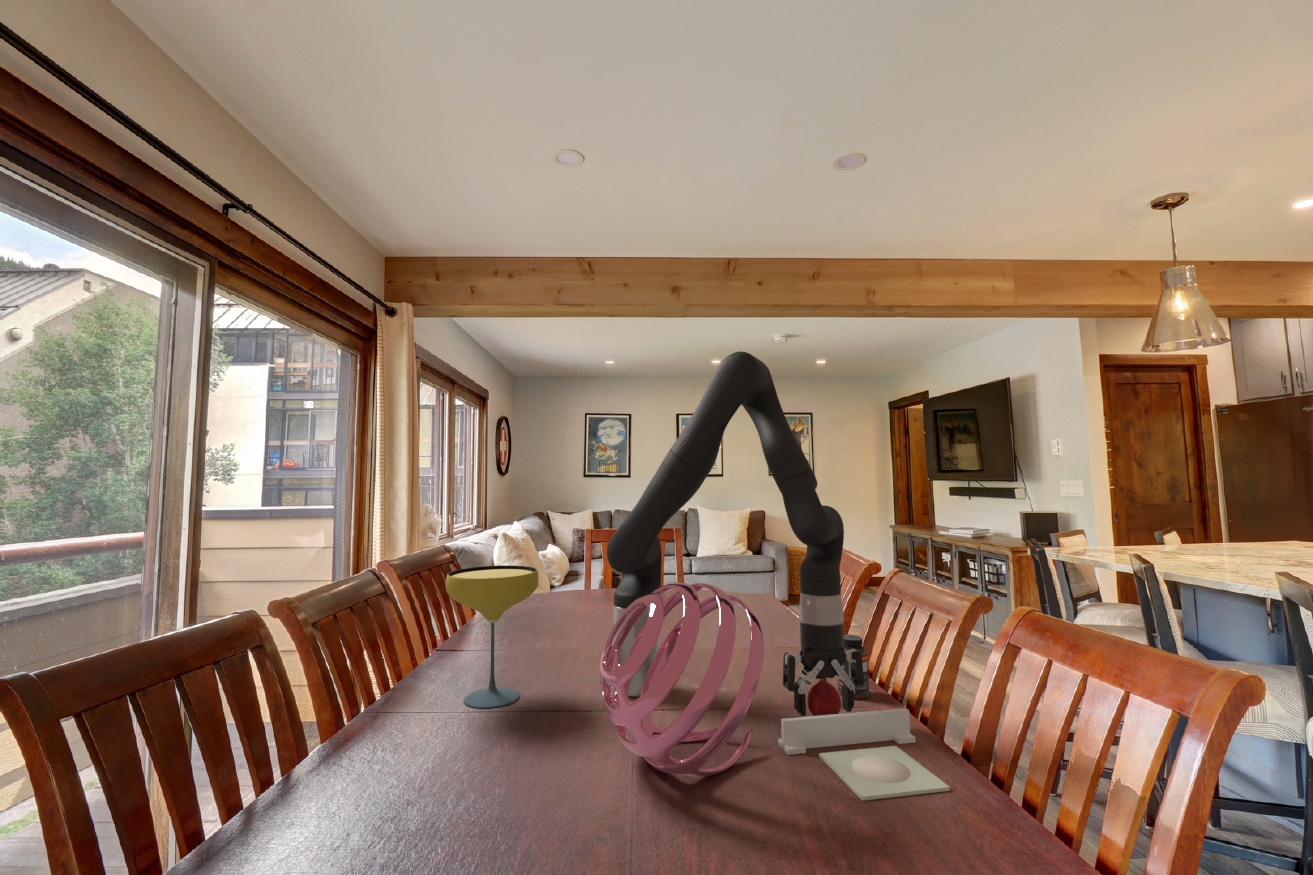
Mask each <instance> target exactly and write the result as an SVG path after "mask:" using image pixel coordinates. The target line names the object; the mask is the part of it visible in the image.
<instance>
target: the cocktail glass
mask: <svg viewBox="0 0 1313 875" xmlns="http://www.w3.org/2000/svg"><path fill="white" fill-rule="evenodd" d="M539 578H540V577H539V571H538V569H537V568H535V567H531V566H526V565H525V566H524V565H486V566H475V567H473V566H472V567H467V568H461V569H456V570H453V571H450V572H448V573H447V575H446V578H445V590H446V593H447V595H448V596H449V597H450V598H451V599H452V600H453V601H455V602H457V603H458V604H461V605H463V606H465V607H467V608H469V609H471V610H474V611H476V612H478V613H479V614H481V615H482V616H483V618H484V619H485V620H486V622H488V623H490V627H491V628H490V630H491V631H490V669H489V670H490V672H489V673H490V674H489V675H490V676H489V683H488V688H483V689H479V690H477V691H473V692H471V693H470V694H467V695H466V696H465V697H464V698H463V703H464V705H466V706H467V707H469V706H471V707H470V708H473V707H474V709H485V710H486V709H495V708H501V707H504V706H508V705H511V704H513V703H515V702H516V701H518V700H519V699H520V696H521V693H520V691H519V690H516V689H514V688H509V687H497V685H496V680H495V678H496V677H495V623H497V622H498V621H499V620H500V619H501V618H502V616H503V614H504V613H505V612H506V611H508V610H510V609H511V608H513V607H514V606H516V605H518V604H520V603H521V602H523V601H525V600H526V599H528V598H529V597H531V596H532V594H534V593H535V591H536V590H537V589H538V586H539Z"/></svg>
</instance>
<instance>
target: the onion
mask: <svg viewBox="0 0 1313 875" xmlns="http://www.w3.org/2000/svg"><path fill="white" fill-rule="evenodd" d="M827 679H828V678H827V677H825V678H823V679H819V681H818V682H816V683H815V684H813V686H811V688H810V689H809V690H808V693H807V696H806V704H807V708H808V710H809V712H810V713H811V716H821V715H832V714H840V712H841V710H842V698H841V696H840V693H839V691H838V689H836V688H835V686H833V685H832V684H831V683H829V682H828V680H827Z"/></svg>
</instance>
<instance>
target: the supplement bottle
mask: <svg viewBox="0 0 1313 875" xmlns="http://www.w3.org/2000/svg"><path fill="white" fill-rule="evenodd" d="M863 644H864V643H863V637H862V636H861V635H856V634H844V651H849V649H850V648H854V649H856V650H857V651H859V652H861V654H862V664H863V675H864V684H863V685H862V686H860V685H859V686H857V687H855V689H854V700H860V699H861V700H863V699H866V698H868V697H869V696H870V675H869V652H868V650H867V649H866V648H865V647H864V646H863ZM842 668H843V670H844V671H845V672H846V674H847V675H848V676H849V678H851V671H850V662H849V661H848V660H847V658H846V660H845V662H844V664H843V665H842ZM842 687H843V684H842V683H841V682H840V680H839V679H838V678H837V692H838V694H839V695H841V696H842ZM862 698H863V699H862Z"/></svg>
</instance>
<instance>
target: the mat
mask: <svg viewBox="0 0 1313 875" xmlns="http://www.w3.org/2000/svg"><path fill="white" fill-rule="evenodd" d="M818 756H819V757H818V758H820V760H822V761H823V762H824V763H825V764H826V765H827V766H828V767H829V768H830V769H831V771H833V772H834V773H835V774H836V775H837V776H838V777H839V778H840V779H841V781H842V782H843V783H845V785H847V787H848V788H849V789H850V790H852V792H853V793H854V794H855V795H857V797H858V798H859V799H860V800H861V801H862V802H863V801H873V800H879V799H880V800H881V799H889V798H899V797H907V796H915V795H923V794H932V793H933V794H934V793H941V792H943V793H944V792H950V791H951V788H950V786H949V785H948V784H946V783H945V782H944V781H943V780H941V779H940V778H938V777H937V776H936V775H935V774H933V773H932V772H931V771H930V770H928V769H927V768H925V767H924V766H923V764H920V763H919V762H918V761H916V760H915V759H914V758H913V757H911V755H909V754H907V753H906V752H905V751H903V750H902V749H901V748H899V747H898V746H896V745H890V746H879V747H869V748H858V749H850V750H849V749H848V750H840V751H839V750H837V751H829V752H828V751H827V752H820V753H818Z"/></svg>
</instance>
